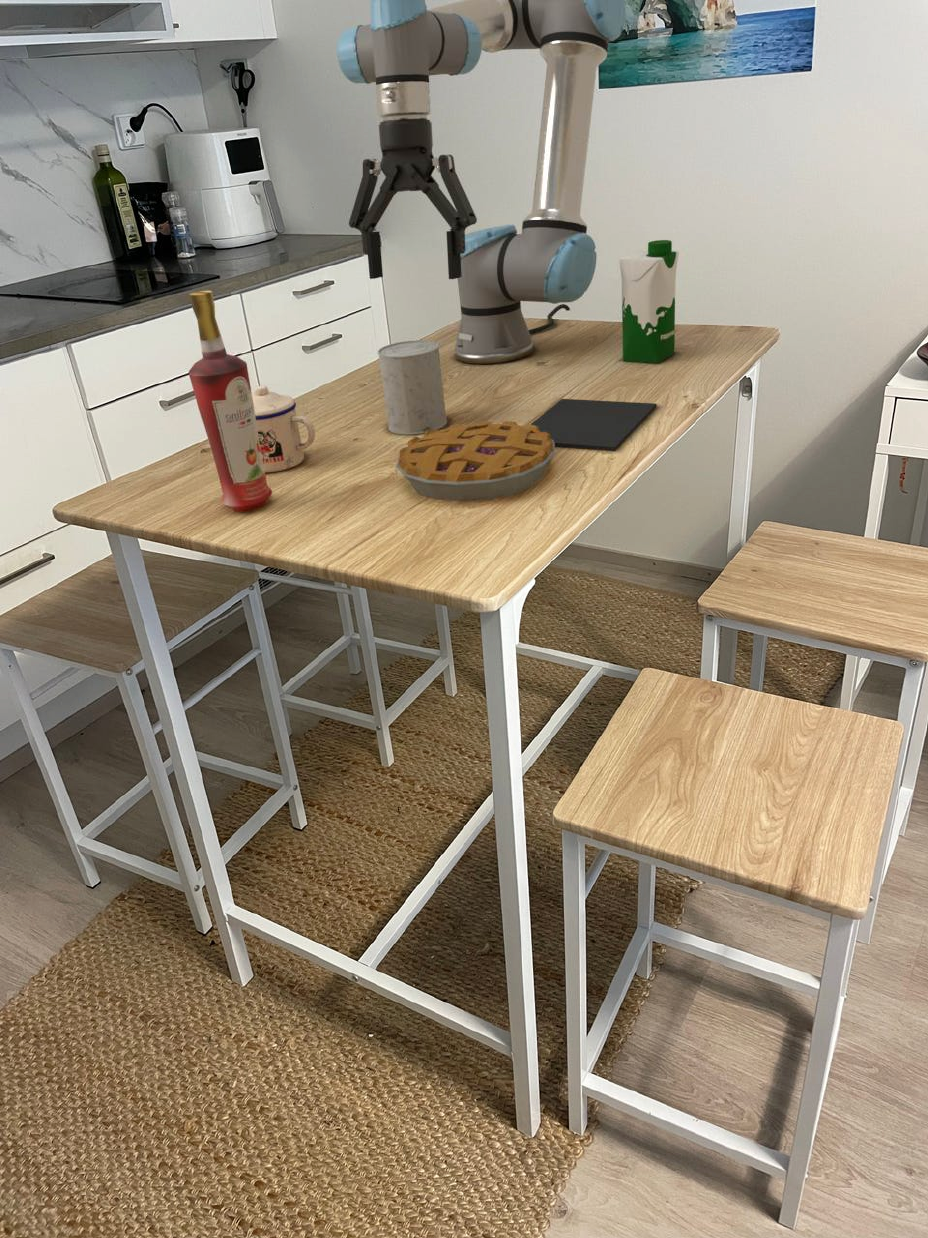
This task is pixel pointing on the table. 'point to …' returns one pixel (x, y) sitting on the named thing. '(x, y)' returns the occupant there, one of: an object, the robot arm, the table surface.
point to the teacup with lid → (279, 430)
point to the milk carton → (649, 303)
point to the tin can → (413, 386)
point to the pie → (476, 460)
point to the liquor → (227, 413)
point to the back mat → (592, 422)
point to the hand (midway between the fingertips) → (415, 278)
